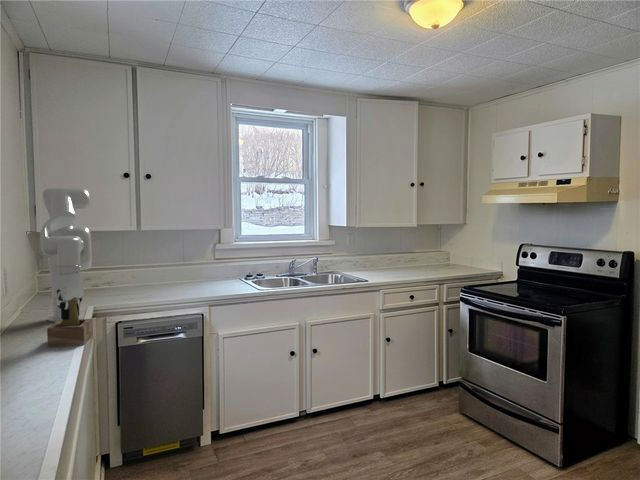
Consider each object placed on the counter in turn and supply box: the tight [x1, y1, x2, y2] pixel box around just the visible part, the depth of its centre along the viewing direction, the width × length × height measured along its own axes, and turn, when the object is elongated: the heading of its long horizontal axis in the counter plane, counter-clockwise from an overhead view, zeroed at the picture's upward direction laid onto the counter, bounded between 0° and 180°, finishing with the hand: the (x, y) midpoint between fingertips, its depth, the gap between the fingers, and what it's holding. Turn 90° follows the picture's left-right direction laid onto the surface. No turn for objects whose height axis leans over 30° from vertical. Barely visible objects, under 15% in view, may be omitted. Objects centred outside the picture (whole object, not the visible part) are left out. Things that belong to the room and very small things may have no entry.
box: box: [46, 318, 94, 348], centre depth 165 cm, size 12×12×7 cm
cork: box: [62, 297, 80, 326], centre depth 165 cm, size 6×6×11 cm
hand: (70, 317), depth 165 cm, fingers closed on cork, 4 cm apart
